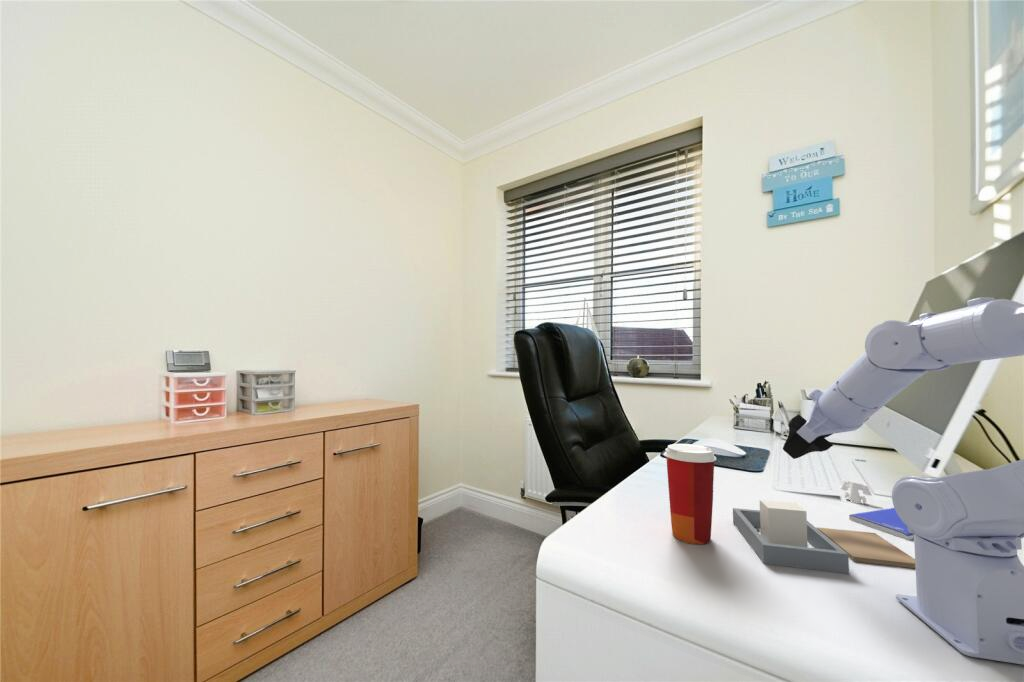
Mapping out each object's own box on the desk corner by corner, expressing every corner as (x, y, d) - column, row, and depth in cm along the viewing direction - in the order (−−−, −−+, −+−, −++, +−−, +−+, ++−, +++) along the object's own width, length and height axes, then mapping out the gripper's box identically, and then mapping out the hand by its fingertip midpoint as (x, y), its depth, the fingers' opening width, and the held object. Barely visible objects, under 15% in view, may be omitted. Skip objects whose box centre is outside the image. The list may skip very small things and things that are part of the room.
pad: (923, 569, 52) (923, 564, 52) (853, 561, 54) (853, 556, 54) (875, 536, 62) (874, 532, 62) (816, 531, 64) (816, 527, 64)
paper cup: (712, 529, 64) (710, 444, 65) (723, 551, 57) (721, 455, 58) (662, 523, 67) (660, 441, 67) (667, 544, 59) (665, 451, 60)
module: (807, 552, 57) (806, 511, 57) (769, 548, 58) (768, 507, 58) (796, 542, 60) (795, 502, 61) (760, 538, 61) (759, 499, 62)
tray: (849, 573, 51) (848, 554, 51) (763, 563, 54) (763, 544, 54) (799, 529, 65) (799, 514, 65) (733, 522, 67) (732, 508, 67)
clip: (873, 504, 76) (872, 485, 76) (869, 506, 75) (869, 486, 75) (841, 497, 80) (840, 478, 81) (837, 498, 79) (837, 480, 80)
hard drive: (907, 533, 61) (954, 524, 65) (848, 513, 69) (894, 506, 73) (907, 543, 61) (955, 533, 65) (849, 522, 69) (894, 514, 73)
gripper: (858, 354, 58) (806, 407, 68) (801, 390, 53) (753, 442, 62) (910, 387, 54) (847, 438, 64) (853, 430, 49) (794, 479, 58)
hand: (803, 442), depth 63 cm, fingers open, 7 cm apart
